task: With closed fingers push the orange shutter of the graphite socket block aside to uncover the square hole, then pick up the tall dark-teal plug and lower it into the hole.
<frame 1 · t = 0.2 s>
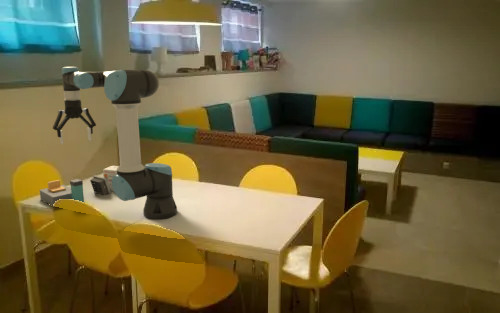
hand: (76, 142, 215), 28 cm above the table, fingers open, 13 cm apart
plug: (78, 204, 208), on the table
socket: (59, 200, 214), on the table
ink box: (115, 188, 233), on the table
electrical switch: (101, 193, 225), on the table
shutter: (56, 186, 213), point 7 cm above the table, slide at 0.0 cm
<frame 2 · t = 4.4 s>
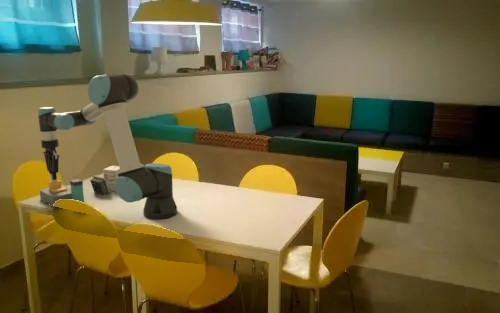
hand: (54, 185, 215), 7 cm above the table, fingers closed
shutter: (57, 186, 212), point 7 cm above the table, slide at 1.2 cm, touching gripper
everything else where it was.
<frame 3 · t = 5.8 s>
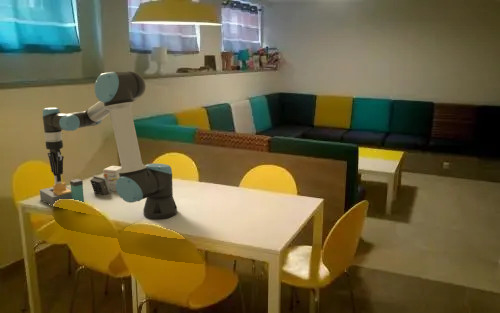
hand: (58, 187, 212), 7 cm above the table, fingers closed
shutter: (62, 188, 209), point 7 cm above the table, slide at 6.4 cm, touching gripper
everything else where it was.
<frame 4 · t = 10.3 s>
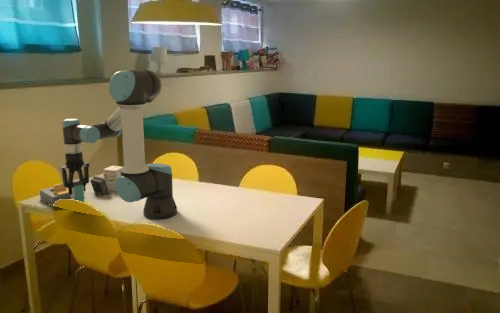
hand: (77, 199, 208), 3 cm above the table, fingers closed on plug, 4 cm apart
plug: (78, 204, 208), on the table, touching gripper
shutter: (62, 189, 209), point 7 cm above the table, slide at 6.9 cm
everything else where it was.
when the fingers open (6 cm above the table, at t = 15.3 s): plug drops 3 cm, resting on socket.
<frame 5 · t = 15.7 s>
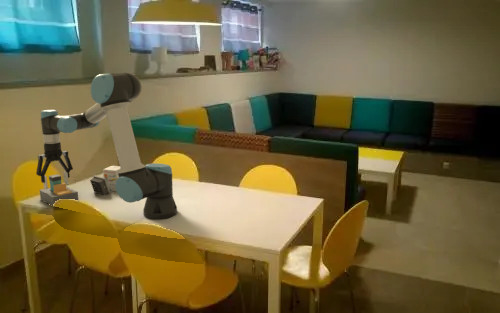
hand: (56, 186, 213), 7 cm above the table, fingers open, 9 cm apart
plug: (57, 199, 215), resting on socket
everything else where it was.
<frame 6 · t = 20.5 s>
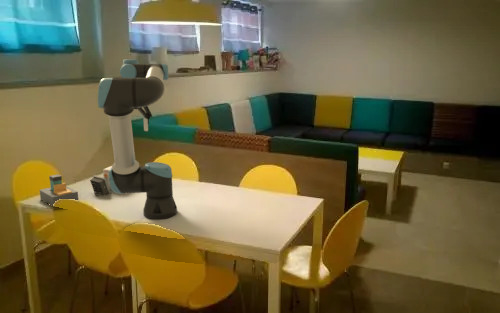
hand: (134, 132, 221), 32 cm above the table, fingers open, 13 cm apart
nothing on the table moved.
at the end: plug 0.0 cm from the target spot on the socket, point 0.2 cm above the socket's base; shutter slide at 6.9 cm; the gripper is holding nothing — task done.
